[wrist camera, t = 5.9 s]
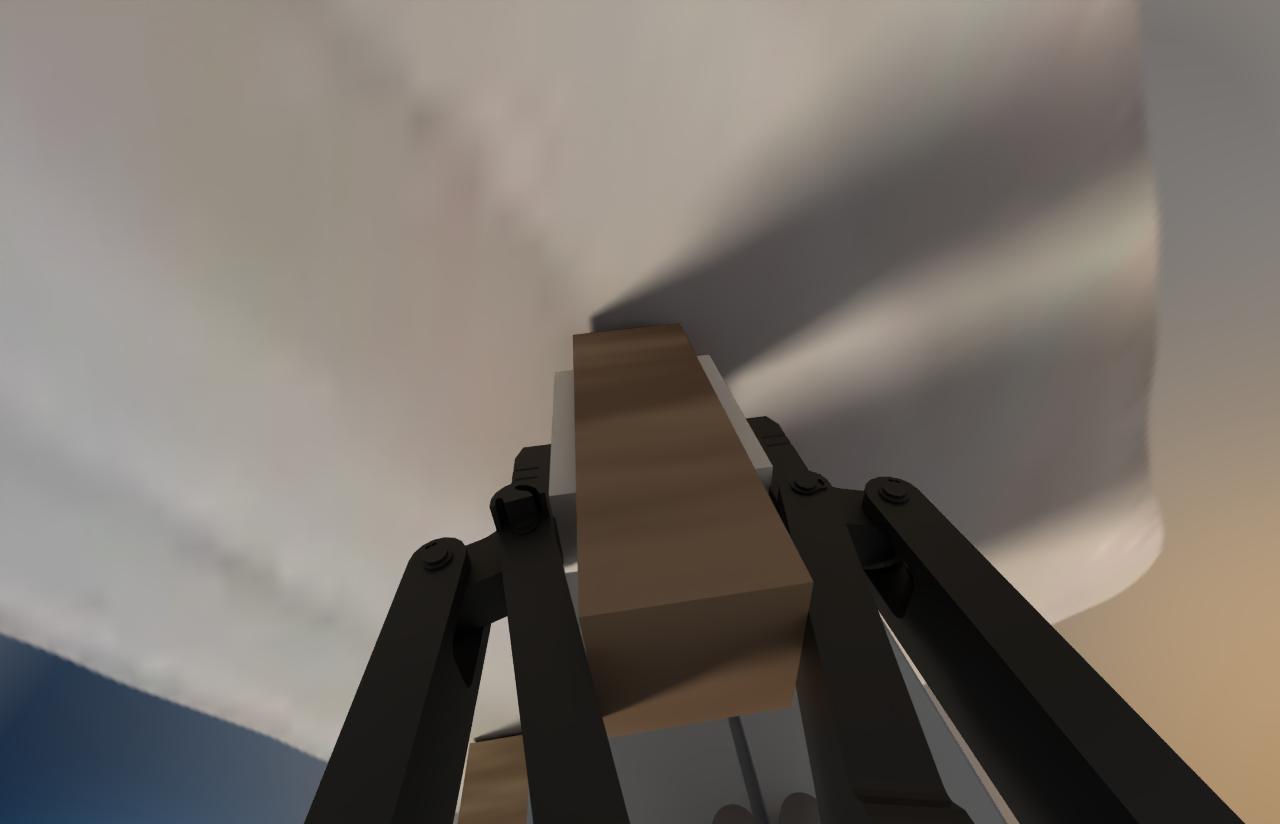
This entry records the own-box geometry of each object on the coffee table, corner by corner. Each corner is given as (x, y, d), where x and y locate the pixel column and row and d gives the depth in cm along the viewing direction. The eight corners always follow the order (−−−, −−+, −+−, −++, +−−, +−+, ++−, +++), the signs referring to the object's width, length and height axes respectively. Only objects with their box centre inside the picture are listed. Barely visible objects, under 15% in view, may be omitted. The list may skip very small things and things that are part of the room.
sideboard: (529, 510, 23) (399, 1866, 5) (816, 471, 24) (1529, 1513, 6) (569, 667, 30) (571, 1492, 12) (792, 632, 31) (1098, 1351, 13)
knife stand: (470, 743, 33) (448, 883, 27) (763, 694, 34) (804, 817, 28) (483, 770, 35) (466, 905, 29) (760, 722, 36) (797, 843, 30)
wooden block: (572, 334, 18) (578, 617, 8) (679, 322, 19) (813, 582, 8) (616, 621, 27) (644, 925, 17) (687, 610, 28) (756, 903, 17)
